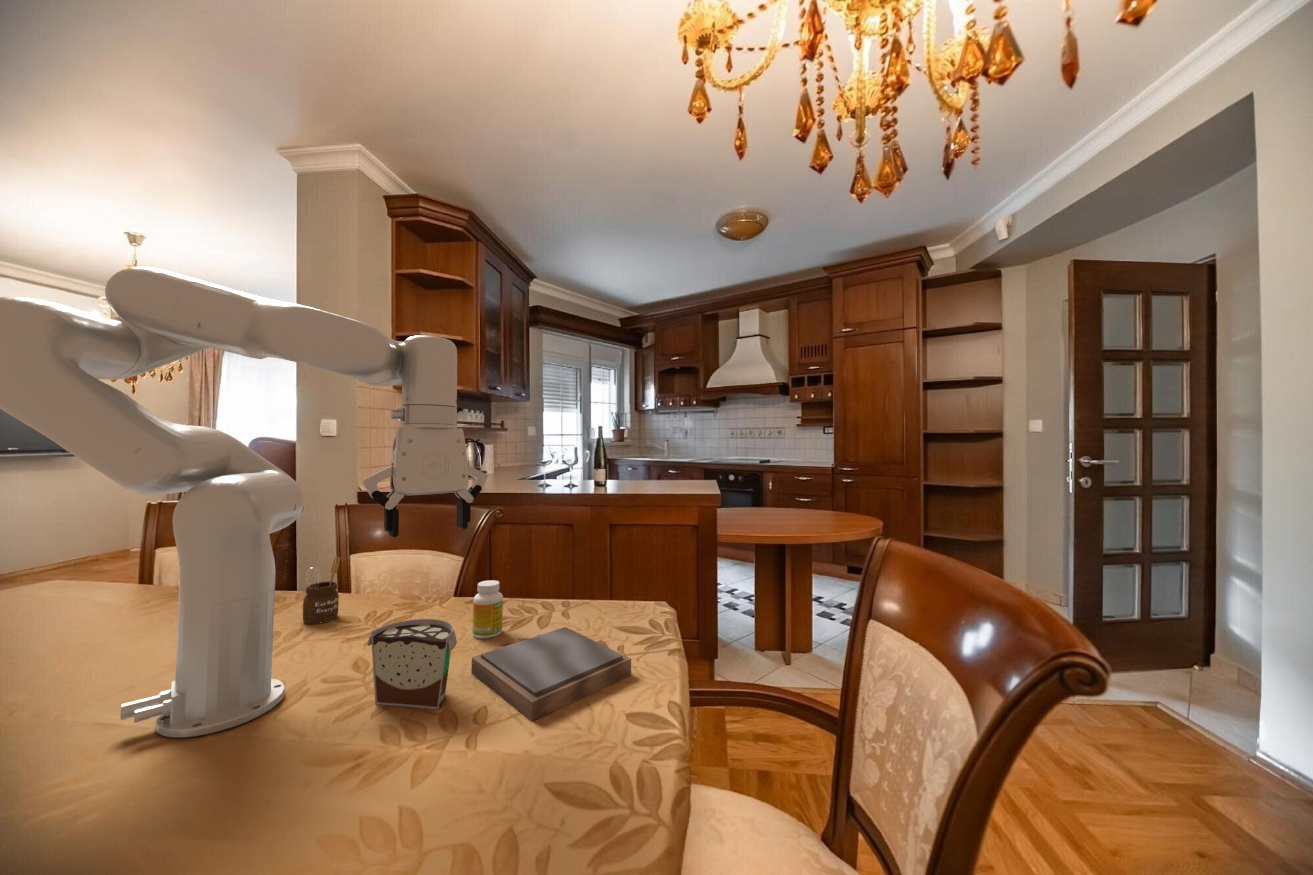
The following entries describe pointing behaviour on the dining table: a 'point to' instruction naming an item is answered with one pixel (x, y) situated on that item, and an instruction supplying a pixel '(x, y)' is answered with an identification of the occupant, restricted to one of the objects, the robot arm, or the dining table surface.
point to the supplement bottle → (487, 610)
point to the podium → (549, 670)
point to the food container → (412, 662)
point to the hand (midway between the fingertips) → (429, 531)
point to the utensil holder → (321, 599)
